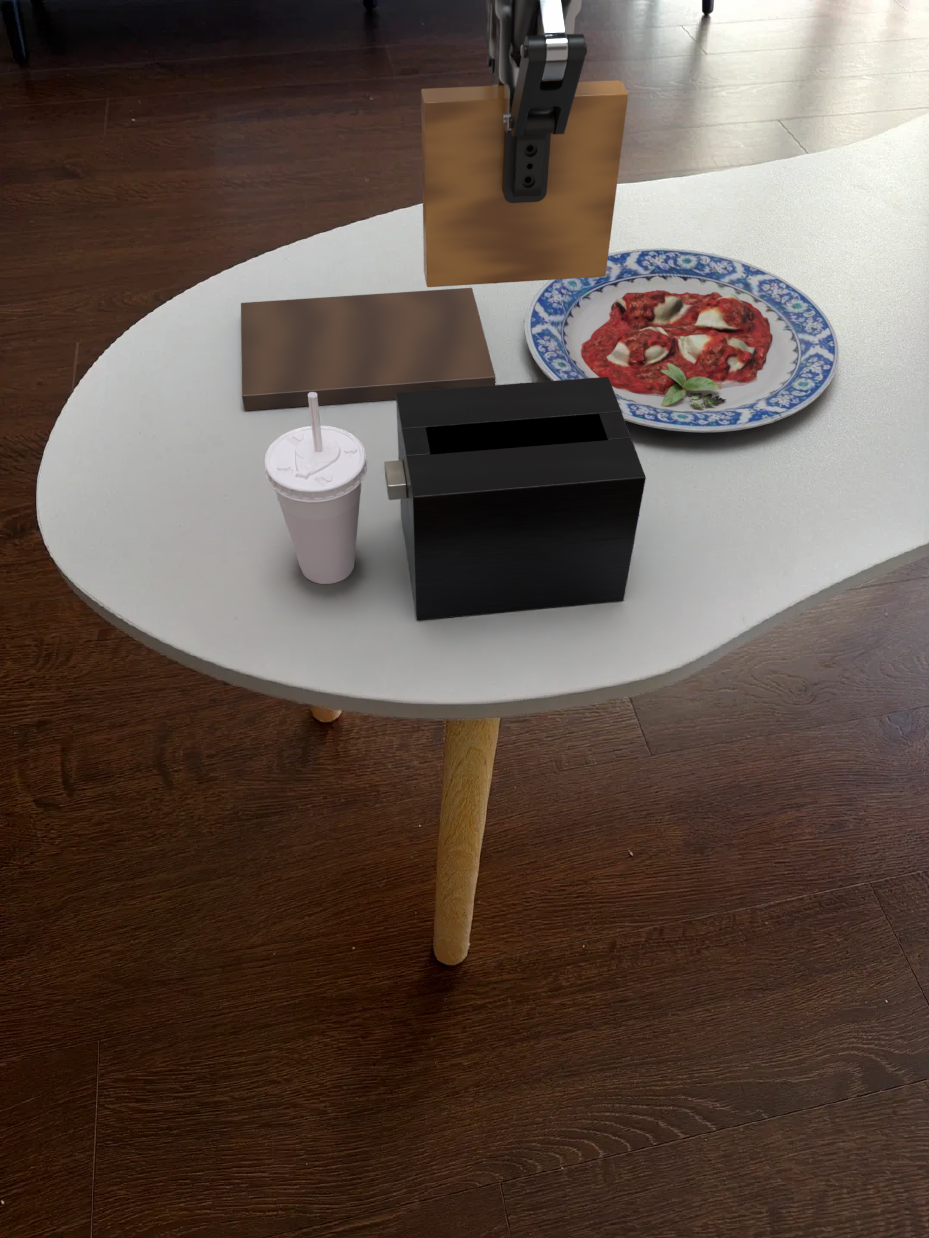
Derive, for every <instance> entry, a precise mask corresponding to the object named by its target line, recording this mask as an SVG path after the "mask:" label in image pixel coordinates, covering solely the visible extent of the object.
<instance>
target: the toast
mask: <svg viewBox="0 0 929 1238" xmlns="http://www.w3.org/2000/svg"><path fill="white" fill-rule="evenodd" d="M504 96H505V85H500V86H492V85H481V86H479V85H477V86H457V87H455V86H454V87H434V88H433V87H431V88H422V89H421V91H420V101H421V105H420V107H421V109H420V110H421V165H422V166H421V169H422V170H421V171H422V175H421V176H422V177H421V178H422V229H423V230H422V239H423V240H422V241H423V244H422V245H423V275H424V279H425V284H426V287H427V288H439V287H455V286H458V287H459V286H473V285H474V286H475V285H487V284H489V285H490V284H505V283H521V282H539V281H548V280H556V279H572V278H588V277H604V276H606V269H607V261H608V253H610V243H611V236H612V228H613V219H614V214H615V213H614V212H615V204H616V196H617V189H618V181H619V180H618V179H619V172H620V164H621V158H622V157H621V156H622V147H623V140H624V133H625V125H626V116H627V108H628V101H629V92H628V91H627V89H626V87H625V85H624V83H623V81H622V80H594V81H579V82H578V85H577V89H576V93H575V96H574V100H573V104H572V107H571V111H570V115H569V118H568V122H567V126H566V129H565V133H564V134H556V135H554V134H551V140H550V153H549V167H548V180H547V193H546V196H545V197H544V198H543V199H542V200H541V201H538V202H523V203H510V202H508V201H506V199H505V197H504V194H503V191H502V177H503V153H504V130H505V127H504V125H503V124H502V113H504Z"/></svg>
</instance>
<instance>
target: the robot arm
mask: <svg viewBox="0 0 929 1238" xmlns="http://www.w3.org/2000/svg"><path fill="white" fill-rule="evenodd" d="M485 2H486V3H485V4H486V19H485V21H486V23H485V43H486V46H487V49H488V56H487V57H486V64H487V68H489V69H488V70H489V74H490V76H494V77H493V84H492V85H491V86H500V85H505V96H504V113H502V124H503V125H504V127H505V130H504V153H503V177H502V191H503V194H504V197H505V199H506V201H508V202H510V203H523V202H538V201H541V200H542V199H543V198H544V197H545V196H546V193H547V180H548V167H549V153H550V140H551V134H554V135H556V134H564V133H565V129H566V126H567V122H568V118H569V115H570V111H571V107H572V104H573V100H574V96H575V93H576V89H577V85H578V82H580V78H581V75H582V71H583V67H584V63H585V59H586V56H587V53H588V45H587V42H586V38H585V35H584V33H575V26H576V18H577V16H578V15H579V14H580V13H581V11H582V5H583V0H485Z"/></svg>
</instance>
